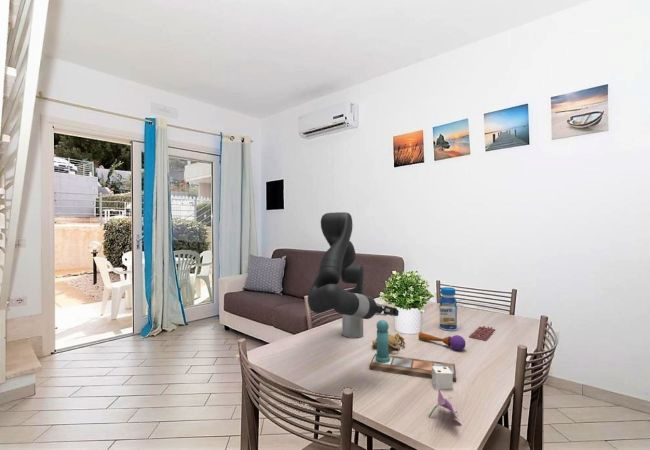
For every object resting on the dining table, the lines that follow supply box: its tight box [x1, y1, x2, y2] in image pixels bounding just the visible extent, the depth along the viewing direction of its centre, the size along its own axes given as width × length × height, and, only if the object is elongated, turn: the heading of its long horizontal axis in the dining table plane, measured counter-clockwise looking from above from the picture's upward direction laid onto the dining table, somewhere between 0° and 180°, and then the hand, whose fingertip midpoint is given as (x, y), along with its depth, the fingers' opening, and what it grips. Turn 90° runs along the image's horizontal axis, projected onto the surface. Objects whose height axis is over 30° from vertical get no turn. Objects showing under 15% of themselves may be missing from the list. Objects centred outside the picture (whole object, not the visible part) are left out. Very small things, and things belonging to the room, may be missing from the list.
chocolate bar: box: [468, 325, 496, 342], centre depth 151 cm, size 7×19×2 cm, turn 141°
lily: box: [428, 377, 462, 425], centre depth 85 cm, size 12×12×10 cm
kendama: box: [418, 332, 467, 352], centre depth 137 cm, size 6×6×20 cm
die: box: [431, 366, 454, 390], centre depth 102 cm, size 5×5×5 cm
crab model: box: [372, 332, 406, 351], centre depth 135 cm, size 16×13×6 cm
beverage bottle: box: [438, 286, 458, 332], centre depth 159 cm, size 8×8×20 cm
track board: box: [368, 353, 457, 383], centre depth 114 cm, size 29×11×2 cm, turn 70°
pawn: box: [375, 319, 391, 363], centre depth 118 cm, size 5×5×14 cm
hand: (387, 311), depth 115 cm, fingers open, 8 cm apart
